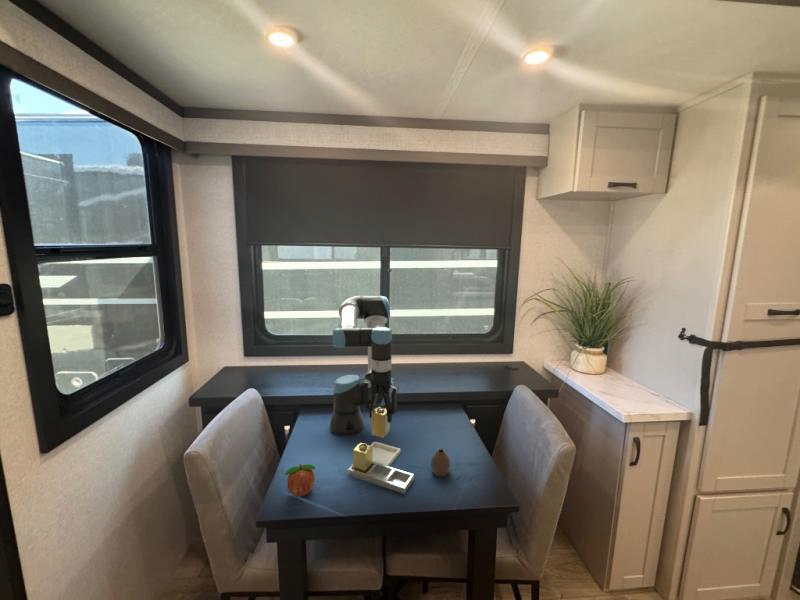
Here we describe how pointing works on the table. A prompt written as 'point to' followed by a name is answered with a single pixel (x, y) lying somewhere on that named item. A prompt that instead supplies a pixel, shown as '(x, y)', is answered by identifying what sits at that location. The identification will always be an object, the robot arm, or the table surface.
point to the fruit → (300, 480)
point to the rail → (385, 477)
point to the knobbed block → (379, 422)
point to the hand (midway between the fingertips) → (380, 427)
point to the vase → (440, 463)
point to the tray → (384, 453)
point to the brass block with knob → (362, 457)
